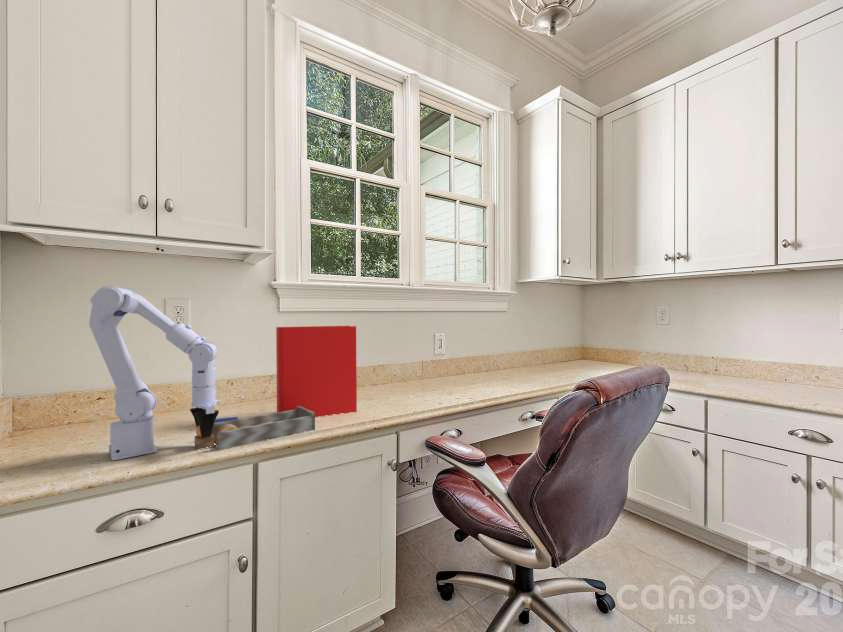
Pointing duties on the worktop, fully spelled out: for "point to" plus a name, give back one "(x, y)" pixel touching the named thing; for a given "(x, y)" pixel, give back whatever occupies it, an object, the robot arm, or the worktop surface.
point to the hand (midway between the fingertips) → (204, 434)
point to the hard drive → (225, 419)
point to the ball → (199, 431)
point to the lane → (262, 427)
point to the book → (316, 369)
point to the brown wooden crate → (204, 442)
